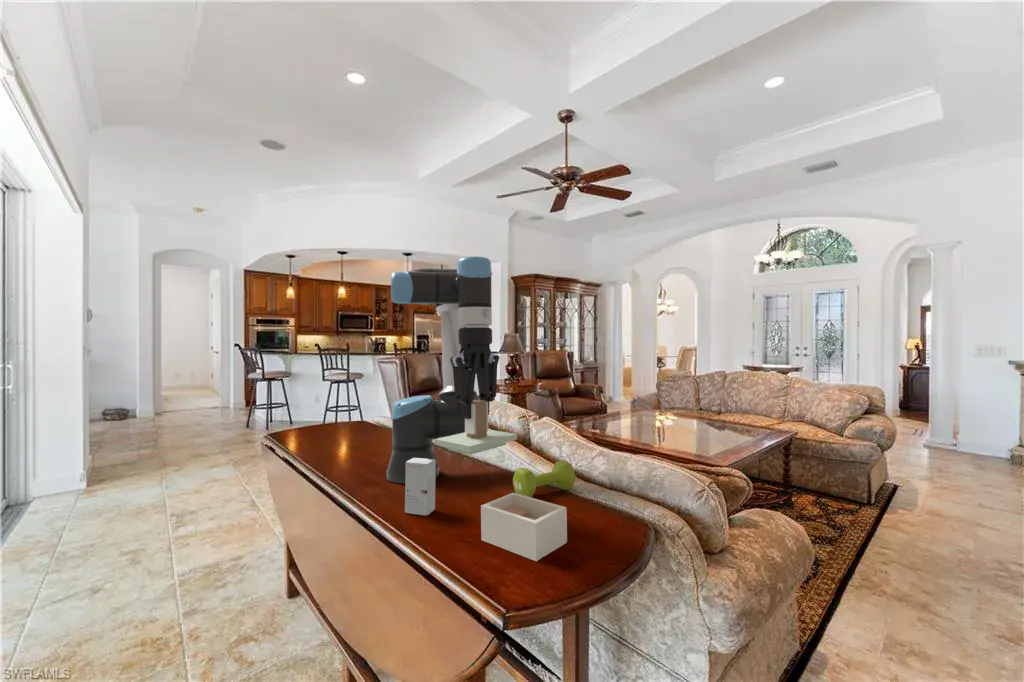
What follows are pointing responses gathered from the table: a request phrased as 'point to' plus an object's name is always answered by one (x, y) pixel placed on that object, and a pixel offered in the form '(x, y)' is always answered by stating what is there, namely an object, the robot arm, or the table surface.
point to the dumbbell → (544, 478)
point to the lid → (477, 435)
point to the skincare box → (420, 486)
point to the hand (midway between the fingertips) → (476, 431)
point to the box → (524, 525)
